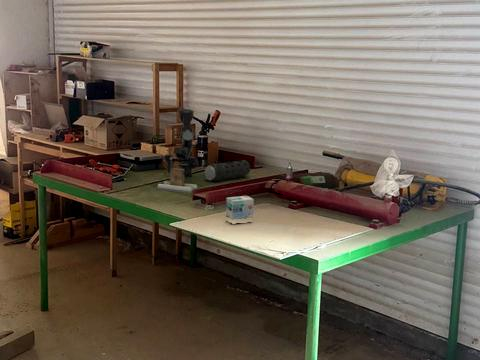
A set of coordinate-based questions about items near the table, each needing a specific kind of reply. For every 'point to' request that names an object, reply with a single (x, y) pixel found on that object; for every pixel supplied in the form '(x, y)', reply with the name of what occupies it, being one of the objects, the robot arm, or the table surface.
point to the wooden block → (177, 177)
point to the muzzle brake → (227, 170)
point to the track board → (177, 187)
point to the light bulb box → (239, 207)
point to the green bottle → (316, 179)
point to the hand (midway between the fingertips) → (176, 173)
